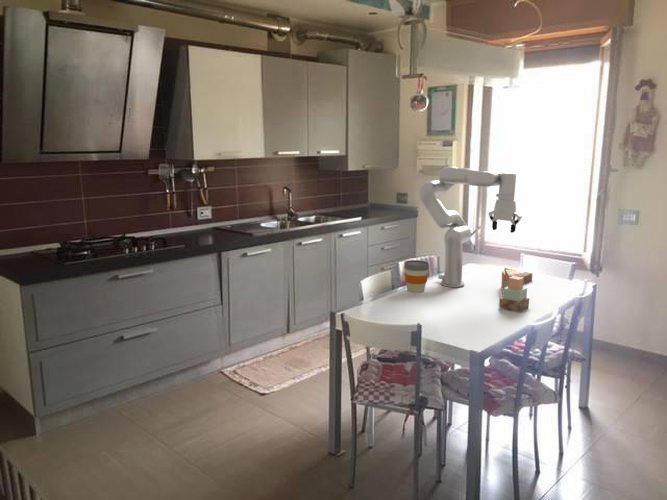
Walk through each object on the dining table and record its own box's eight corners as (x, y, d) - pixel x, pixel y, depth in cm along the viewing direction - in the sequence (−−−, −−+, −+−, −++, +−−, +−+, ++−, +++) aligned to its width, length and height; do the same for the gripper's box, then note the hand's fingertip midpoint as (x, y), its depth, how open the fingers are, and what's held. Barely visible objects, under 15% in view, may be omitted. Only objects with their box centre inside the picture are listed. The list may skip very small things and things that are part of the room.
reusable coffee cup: (418, 286, 295) (420, 259, 292) (432, 292, 284) (433, 264, 281) (399, 289, 290) (400, 261, 287) (412, 295, 279) (413, 266, 275)
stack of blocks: (500, 287, 295) (502, 265, 292) (513, 288, 294) (514, 265, 291) (506, 298, 274) (508, 275, 271) (519, 299, 273) (521, 275, 270)
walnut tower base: (499, 308, 259) (499, 298, 258) (508, 304, 266) (509, 294, 265) (519, 313, 252) (520, 302, 251) (528, 308, 259) (529, 298, 258)
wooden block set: (533, 271, 308) (519, 277, 296) (532, 280, 310) (518, 287, 297) (505, 266, 320) (490, 271, 307) (504, 275, 321) (490, 281, 308)
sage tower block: (502, 298, 258) (503, 288, 257) (510, 295, 264) (511, 285, 263) (519, 301, 253) (519, 291, 252) (526, 298, 258) (527, 288, 257)
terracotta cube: (508, 288, 257) (508, 277, 256) (512, 286, 261) (513, 275, 260) (518, 290, 254) (518, 279, 253) (522, 287, 257) (523, 277, 256)
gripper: (486, 196, 275) (484, 229, 279) (519, 199, 264) (516, 234, 267) (493, 195, 281) (491, 227, 284) (526, 198, 269) (523, 232, 273)
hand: (503, 230), depth 276 cm, fingers open, 9 cm apart
